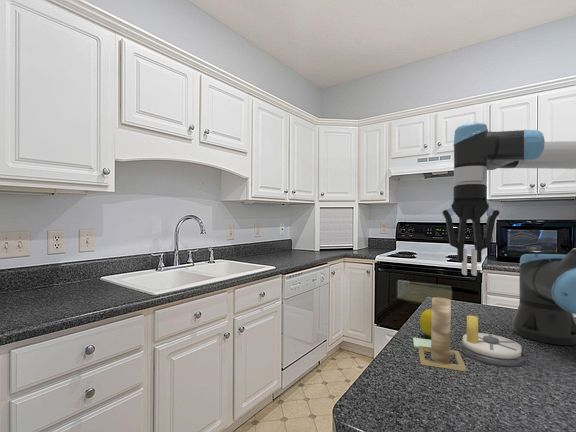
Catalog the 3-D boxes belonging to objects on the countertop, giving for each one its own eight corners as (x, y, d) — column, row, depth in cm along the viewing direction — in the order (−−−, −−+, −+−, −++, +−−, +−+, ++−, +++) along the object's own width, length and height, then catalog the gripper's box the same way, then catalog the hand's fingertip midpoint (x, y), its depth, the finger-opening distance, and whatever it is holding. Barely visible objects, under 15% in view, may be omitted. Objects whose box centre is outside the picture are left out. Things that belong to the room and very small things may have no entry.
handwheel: (499, 338, 83) (499, 310, 83) (534, 359, 71) (534, 326, 71) (453, 338, 83) (453, 309, 83) (480, 358, 71) (480, 325, 71)
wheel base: (513, 347, 81) (513, 342, 81) (533, 370, 69) (533, 365, 69) (456, 340, 85) (456, 336, 85) (466, 361, 73) (466, 356, 73)
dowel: (448, 357, 75) (449, 298, 75) (451, 364, 71) (452, 302, 71) (430, 354, 76) (431, 296, 76) (431, 361, 73) (432, 300, 73)
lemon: (423, 332, 91) (423, 304, 91) (443, 336, 88) (444, 308, 88) (416, 337, 87) (417, 308, 87) (438, 342, 84) (438, 312, 84)
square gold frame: (458, 354, 77) (458, 351, 77) (466, 371, 68) (466, 367, 68) (418, 348, 80) (418, 345, 80) (420, 364, 71) (420, 361, 71)
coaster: (437, 342, 84) (437, 340, 84) (440, 351, 78) (440, 349, 78) (413, 339, 86) (413, 337, 86) (414, 347, 80) (414, 346, 80)
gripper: (497, 185, 84) (497, 274, 84) (437, 186, 89) (436, 270, 89) (507, 182, 77) (506, 279, 77) (440, 183, 82) (440, 275, 82)
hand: (469, 274), depth 83 cm, fingers open, 1 cm apart
